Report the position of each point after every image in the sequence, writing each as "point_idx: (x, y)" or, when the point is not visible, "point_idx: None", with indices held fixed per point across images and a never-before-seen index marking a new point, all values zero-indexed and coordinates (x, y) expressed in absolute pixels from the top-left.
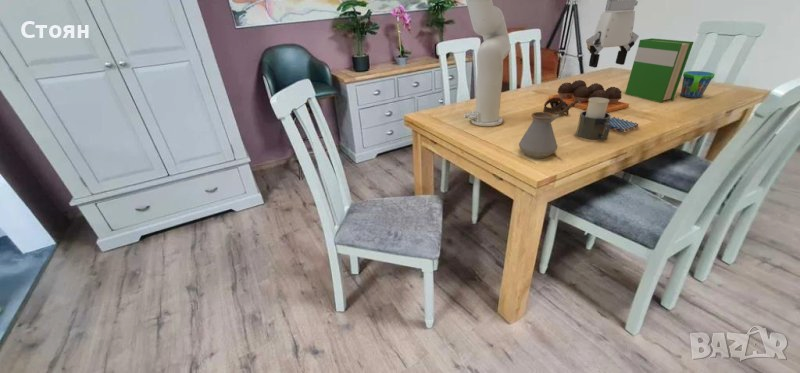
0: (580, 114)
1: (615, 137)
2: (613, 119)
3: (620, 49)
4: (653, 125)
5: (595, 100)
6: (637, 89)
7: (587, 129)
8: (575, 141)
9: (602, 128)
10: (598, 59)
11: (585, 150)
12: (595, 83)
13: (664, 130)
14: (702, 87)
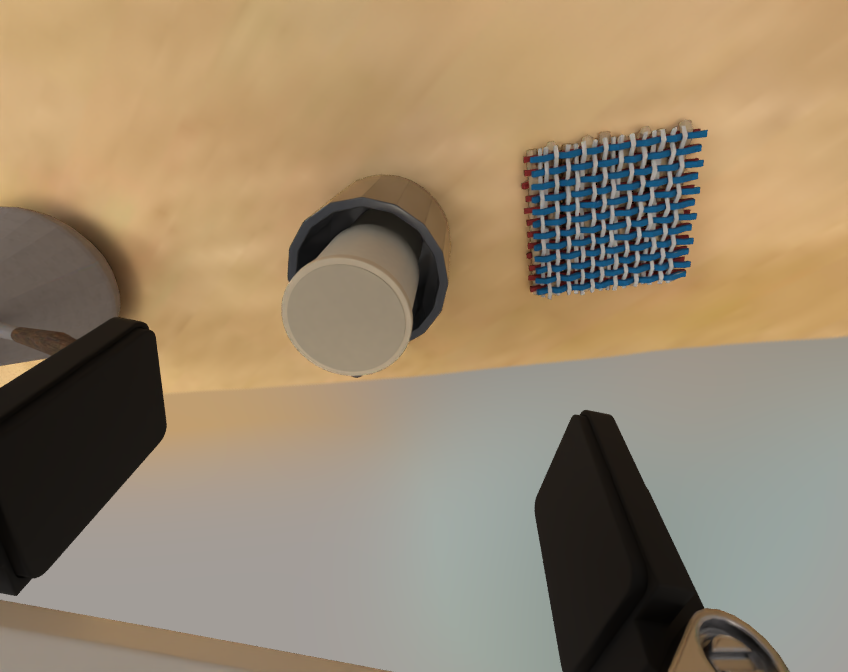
0: (301, 225)
1: (478, 298)
2: (663, 157)
3: (685, 628)
4: (782, 278)
5: (309, 324)
6: None
7: None
8: (288, 250)
9: None
10: (93, 512)
11: (266, 333)
12: None
13: (735, 341)
14: None
